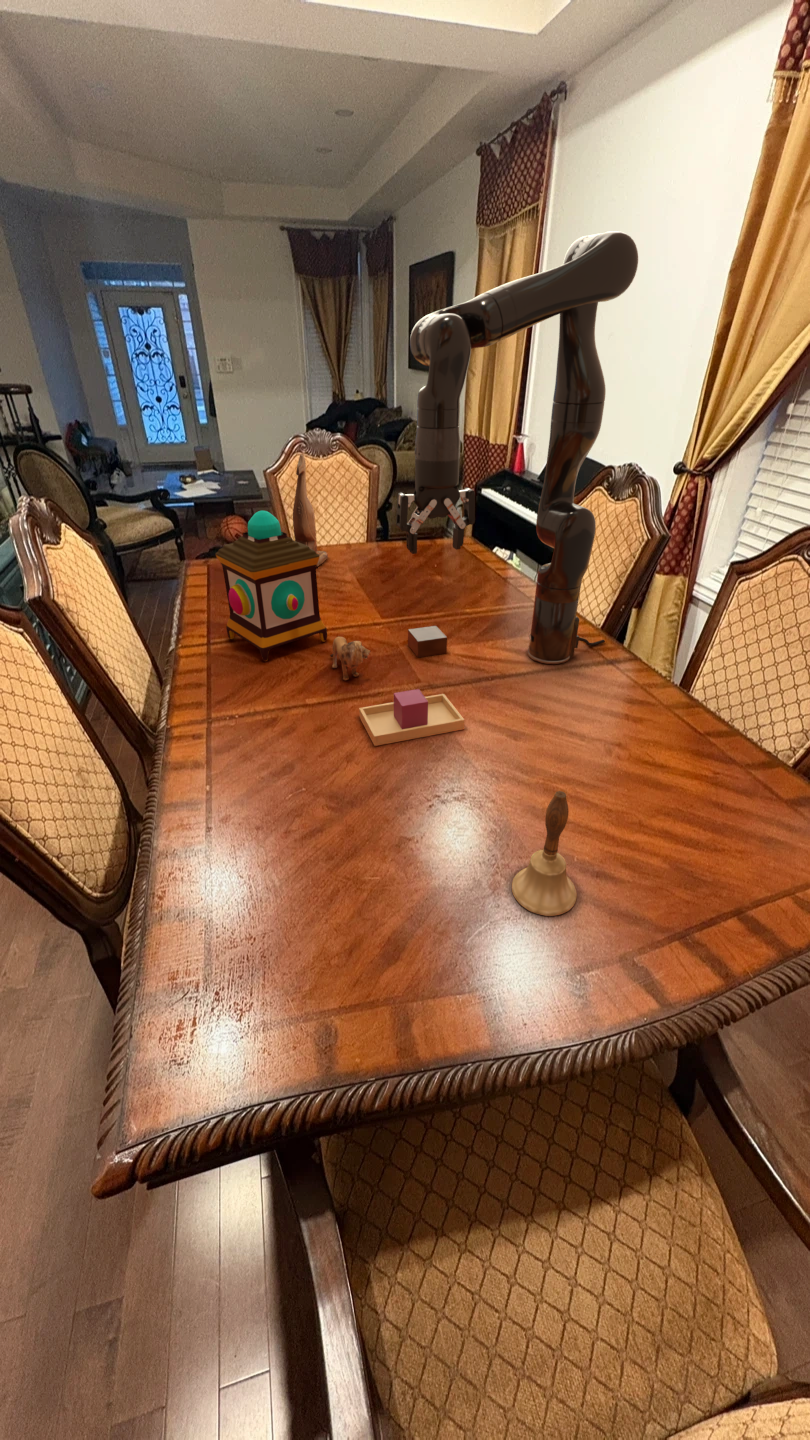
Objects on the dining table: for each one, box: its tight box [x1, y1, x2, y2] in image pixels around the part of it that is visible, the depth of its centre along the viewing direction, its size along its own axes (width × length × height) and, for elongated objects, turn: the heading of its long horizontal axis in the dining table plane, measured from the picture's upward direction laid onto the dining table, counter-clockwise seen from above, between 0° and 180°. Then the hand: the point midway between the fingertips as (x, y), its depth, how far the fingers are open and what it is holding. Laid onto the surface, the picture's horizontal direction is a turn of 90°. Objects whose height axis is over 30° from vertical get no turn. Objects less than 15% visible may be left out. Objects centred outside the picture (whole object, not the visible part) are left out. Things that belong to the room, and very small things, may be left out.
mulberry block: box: [393, 688, 428, 729], centre depth 112 cm, size 5×5×5 cm
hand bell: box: [511, 790, 578, 917], centre depth 75 cm, size 8×8×16 cm
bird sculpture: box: [292, 454, 329, 568], centre depth 187 cm, size 11×12×32 cm
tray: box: [358, 693, 466, 747], centre depth 113 cm, size 17×10×2 cm, turn 109°
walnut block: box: [407, 625, 448, 658], centre depth 140 cm, size 7×7×4 cm
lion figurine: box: [329, 636, 371, 681], centre depth 129 cm, size 15×5×9 cm, turn 33°
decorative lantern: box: [215, 510, 328, 662], centre depth 137 cm, size 20×20×30 cm
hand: (435, 550), depth 111 cm, fingers open, 8 cm apart
